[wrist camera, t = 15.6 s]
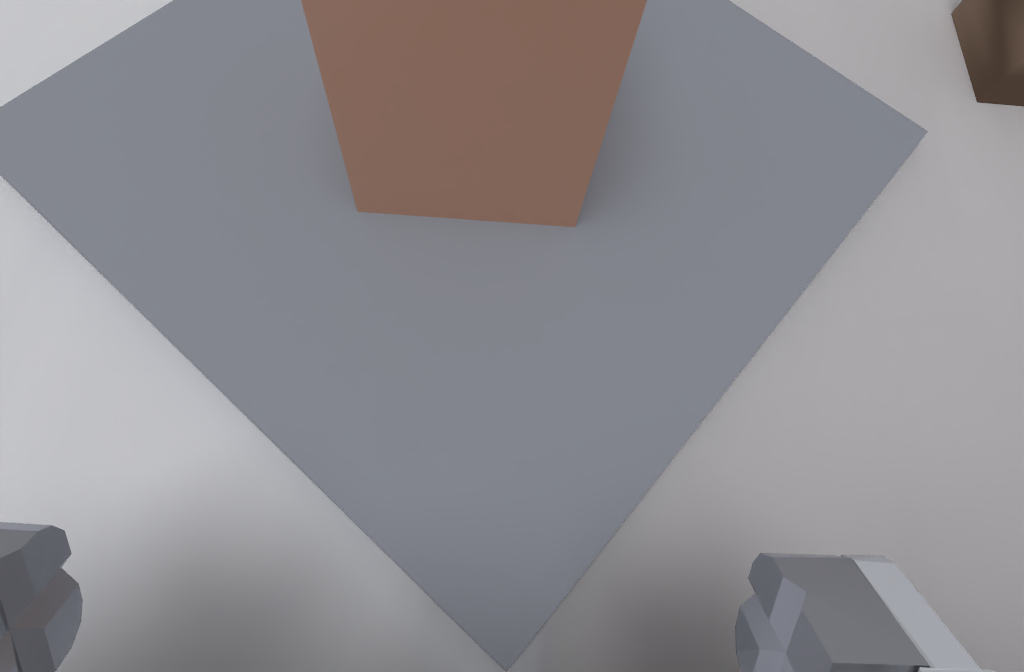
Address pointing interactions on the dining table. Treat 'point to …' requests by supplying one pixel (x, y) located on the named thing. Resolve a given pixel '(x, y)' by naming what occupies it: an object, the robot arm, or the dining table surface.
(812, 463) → the dining table surface
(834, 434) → the dining table surface
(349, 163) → the tall peach block
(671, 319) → the slate mat
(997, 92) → the walnut block
